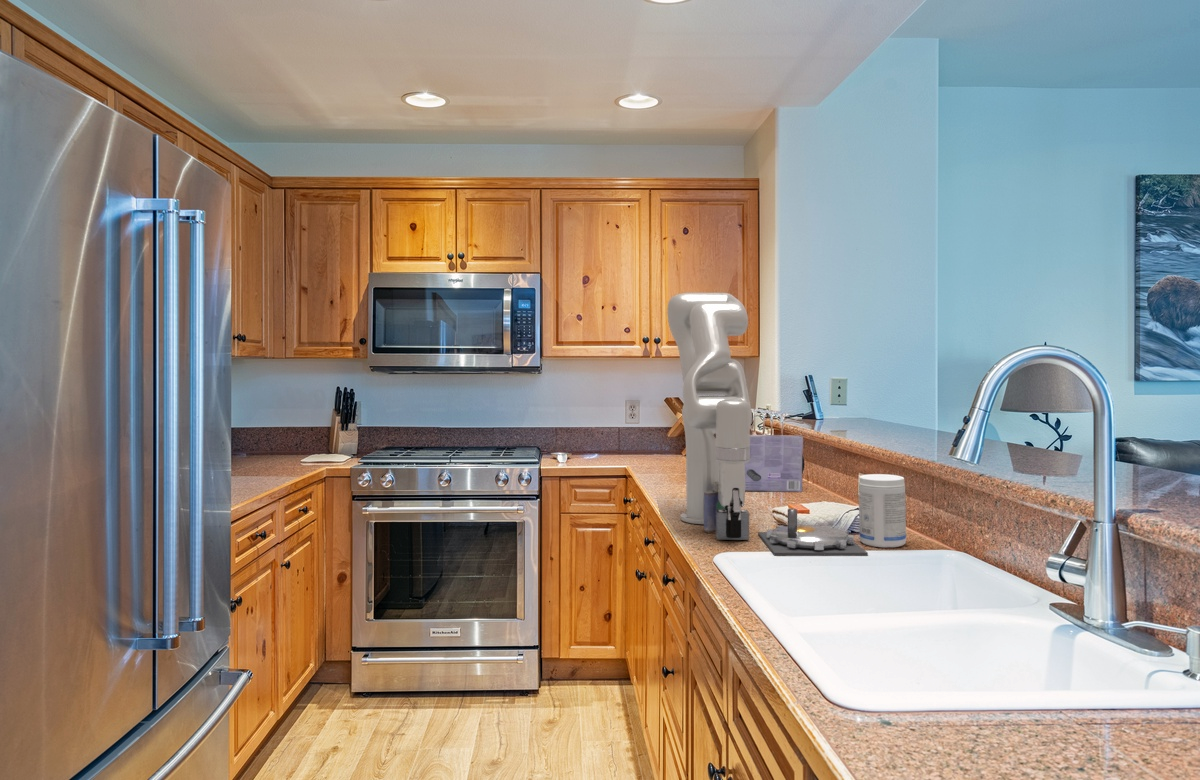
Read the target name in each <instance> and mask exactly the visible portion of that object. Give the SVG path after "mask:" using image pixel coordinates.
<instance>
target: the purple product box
mask: <svg viewBox="0 0 1200 780" xmlns="http://www.w3.org/2000/svg"><path fill="white" fill-rule="evenodd" d="M803 452H804V437H803V435H784V434H783V435H781V434H780V435H779V434H776V435H775V434H750V462H747V463H745V492H769V493H770V492H773V493H775V492H777V493H778V492H793V493H794V492H796V493H798V492H799V493H802V492H803V474H804V471H805V464H806V463H805V457H804V454H803Z"/></svg>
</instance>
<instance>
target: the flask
mask: <svg viewBox="0 0 1200 780" xmlns="http://www.w3.org/2000/svg"><path fill="white" fill-rule="evenodd" d="M714 483H715V487H714V488H715V490H710V491H706V492H704V524H703V531H704V533H705V534H706V533H707V534H710V533H712V534H713V533H714V534H716V510H720V509H725V507H723V506H722V505H721V503H720V502H719V500H718V485H719V482H717V481H716V482H714ZM714 483H713V484H714Z"/></svg>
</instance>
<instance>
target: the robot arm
mask: <svg viewBox="0 0 1200 780" xmlns="http://www.w3.org/2000/svg"><path fill="white" fill-rule="evenodd" d="M666 310H667V311H666V313H667V321H668V327H669V329H670V330H669V331H670V333H671V335H672V337H673V339H674V342H675V344H676V347H677V348H678V354H679V362H680V368H681V375H682V381H683V386H682V399H683V405H682V410H681V417H682V421H683V423H682V424H683V429H684V430H683V431H684V435H685V436H684V437H685V462H686V463H685V464H686V466H685V467H686V469H685V471H686V478H685V481H686V483H685V484H686V511H685V512H683V513H681V514H680V520H681V521H682V522H685V523H689V524H695V525H704V492H706V491H710V490H715V488H714V487H715V483H714V482H716V481H717V482H719V485H718V500H719V502H720V503H721V505H722V506H723V507H725V510H728V520H726V536H727V538H741V509H742V508H744V506H745V503H746V501H745V500H746V491H745V463H747V462H750V435H751V424H752V421H753V420H752V419H753V418H752V417H753V416H752V415H753V414H752V408H751V407H752V405H751V401H750V396H749V390H748V385H747V379H746V374H745V370H744V367H743V366H742V364H741V363H740V362H739V361H738V360H736V359H734V358H731V356H732V354H731V349H730V345H729V339H728V336H729V337H734V336H735V337H736V336H737V337H739V336H742V335H744V334H746V332H747V329H748V325H749V316H748V313H747V310H746V307H745V306H744V304H743V303H742V302H741V301H740V299H738V298H736V297H735V296H734V295H732V294H731V293H729V292H728V293H727V292H683V293H678V294H676V295H675V294H674V295H673V296H672V297H671V298H670V299H669V301H668V303H667V309H666ZM713 483H714V484H713Z"/></svg>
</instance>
